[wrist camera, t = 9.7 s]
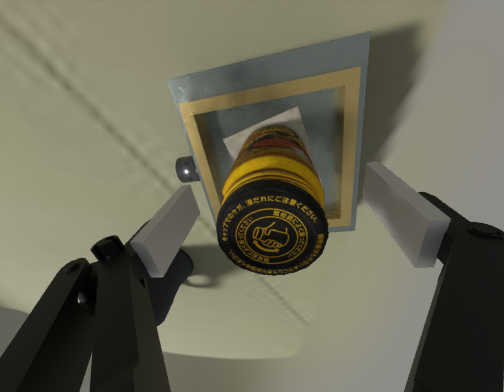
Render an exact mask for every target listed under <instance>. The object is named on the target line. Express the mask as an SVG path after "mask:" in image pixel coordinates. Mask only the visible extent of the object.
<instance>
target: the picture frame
mask: <svg viewBox="0 0 504 392" xmlns="http://www.w3.org/2000/svg"><path fill="white" fill-rule="evenodd" d="M370 34H371V31H370V32H366V33H362V34H358V35H353V36H349V37H345V38H341V39H336V40H332V41H328V42H324V43H319V44H315V45H311V46H307V47H302V48H298V49H294V50H289V51H285V52H281V53H277V54H272V55H268V56H264V57H260V58H255V59H251V60H247V61H243V62H238V63H234V64H230V65H226V66H221V67H217V68H213V69H209V70H204V71H200V72H196V73H192V74H187V75H183V76H179V77H175V78H170V79H167V82H168V85H169V88H170V91H171V94H172V97H173V100H174V103H175V106H176V109H177V112H178V115H179V118H180V121H181V124H182V127H183V130H184V133H185V136H186V139H187V142H188V145H189V148H190V151H191V154H192V156H188V157H181V158H178V159H177V161H176V173H177V176H178V178H179V180H180V181H181V182H183V183H187V182H194V181H201V183H202V186H203V189H204V192H205V195H206V198H207V201H208V204H209V207H210V210H211V213H212V216H213V219H214V222H215V225H216V222H217V216H218V213H219V211H220V208H221V205H222V201H221V199H222V190H223V186H224V183H225V180H226V177H227V176H228V174H229V172H230V170H231V167H232V166H233V164H234V161H233V159H232V157H231V155H230V153H229V151H228V149H227V147H226V145H225V143H224V141H223V139H225V138H227V137H230V136H232V135H234V134H236V133H238V132H241V131H243V130H245V129H247V128H249V127H252V126H254V125H256V124H258V123H260V122H263V121H265V120H267V119H269V118H272V117H274V116H276V115H279V114H281V113H283V112H285V111H288V110H290V109H292V108H294V107H297V106H298V108H299V111H300V115H301V118H302V121H303V124H304V128H305V131H306V134H307V137H308V141H309V144H310V147H311V150H312V153H313V157H314V160H315V163H316V166H317V170H318V173H319V176H320V179H321V182H322V186H323V190H324V195H325V199H324V212H325V217H326V218H327V222H328V223H329V225H328V232H342V231H355V223H356V210H357V198H358V185H359V172H360V160H361V147H362V134H363V122H364V109H365V97H366V84H367V71H368V59H369V46H370Z"/></svg>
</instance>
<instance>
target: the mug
mask: <svg viewBox="0 0 504 392" xmlns="http://www.w3.org/2000/svg"><path fill="white" fill-rule="evenodd" d="M192 270H193V263H192V260H191V259H190V257H189V255H187V254H186V253H185V252H184V251H183V250H181V249H179V250H178V252H177V254H176V256H175V257H174V259H173V261H172V263H171V264H170V266H169V268H168V269H167V271H166V273H165V275H164V276H163V277H151V276H150V274H149V273H148V271H146V273H145V274H144V278H145V279H146V282H147V286H148V291H149V295H150V300H151V304H152V309H153V313H154V318H155V322H156V327H157V326H159V325H160V324H161V323H162V322H163V321H164V320H165V318H166V316H167V314H168V312H169V310H170V307H171V305H172V303H173V300H174V297H175V295H176V293H177V291H178V289H179V287H180V285H181V284H182V283H183V282H184V281H185V280H186V279H187V278H188V276H189V275H190V274H191V272H192Z"/></svg>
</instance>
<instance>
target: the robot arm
mask: <svg viewBox="0 0 504 392" xmlns="http://www.w3.org/2000/svg"><path fill="white" fill-rule="evenodd" d="M363 198H364V200H365V201H366V202H367V204H368V205H369V207H370V208H371V209H372V211H373V212H374V213H375V214H376V216H377V217H378V219H379V220H380V221H381V223H382V224H383V225H384V227H385V228H386V229H387V231H388V232H389V233H390V235H391V236H392V237H393V239H394V240H395V242H396V243H397V244H398V246H399V247H400V248H401V250H402V251H403V252H404V254H405V255H406V256H407V258H408V259H409V261H410V262H411V263H412V264H413V266H414V267H415V268H426V267H434V265H435V262H436V259H437V258H438V259H439V260H440V261H441V262H442V263H443V264H444V266H443V268H442V271H441V273H440V276H439V278H438V283H437V287H436V290H435V293H434V296H433V300H432V303H431V306H430V310H429V313H428V316H427V319H426V322H425V325H424V329H423V332H422V335H421V338H420V342H419V345H418V348H417V351H416V354H415V358H414V361H413V364H412V367H411V371H410V374H409V377H408V380H407V383H406V387H405V390H404V392H503V380H504V232H503V231H501V230H500V229H498V228H496V227H494V226H491V225H488V224H484V223H478V222H470V221H468V220H467V219H465V218H464V217H463V216H461V215H460V214H459V213H457V212H456V211H455V210H453V209H452V208H450V207H449V206H448V205H446V204H445V203H442V201H441V200H439V199H438V198H437V197H435V196H433V195H430V194H428V193H426V192H416V191H415V190H414V189H413V188H411V187H410V186H409V185H407V184H406V183H405V182H404V181H402V180H401V179H400V178H399V177H397V176H396V175H395V174H393V173H392V172H391V171H390V170H388V169H387V168H386V167H385V166H383V165H382V164H381V163H380V162H378V161H374V162H367V163H366V164H365V175H364V186H363ZM199 214H200V211H199V208H198V205H197V202H196V200H195V197H194V194H193V192H192V189H191V186H190V185H184V186H181V187H180V188H179V189H178V190H177V191H176V192H175V193H174V194H173V196H172V197H171V198H170V199H169V200H168V201H167V202H166V203H165V204H164V205H163V206H162V208H161V209H160V210H159V211H158V212H157V213H156V214H155V215H154V216H153V217H152V219H150V220H149V221H147V222H146V223H145V224H144V225H143V226H142V227H141V228H140V230H138V231H137V232H136V234H134V235H133V236H132V238H131V239H130V240H129V241H128V242H127V243H126V244H125V245H123V244H122V242H121V241H120V239H119V237H118V236H115V235H113V236H109V237H106V238H104V239H102V240H100V241H98V242H97V243H96V244H94V245H93V246H92V248H91V252H92V253H93V254H94V255H95V257H96V258H97V259H98V261H97V262H94V263H91V264H90V263H89V262H88V261H87V260H86V259H85V258H79V259H76V260H74V261H71V262H69V263H67V264H66V265H65V266H64V267H63V268H61V269H60V270H59V272H58V273H57V274H56V276H55V277H54V279H53V280H52V282H51V283H50V285H49V286H48V288H47V289H46V291H45V292H44V294H43V295H42V297H41V298H40V300H39V301H38V303H37V304H36V306H35V307H34V309H33V310H32V312H31V313H30V314H29V316H28V318H27V319H26V321H25V322H24V323H23V325H22V327H21V328H20V329H19V331H18V332H17V334H16V335H15V337H14V338H13V340H12V341H11V343H10V344H9V346H8V347H7V349H6V350H5V352H4V353H3V355H2V356H1V358H0V392H79V391H80V388H81V385H82V382H83V379H84V375H85V372H86V369H87V366H88V363H89V360H90V357H91V353H92V365H91V381H90V392H171V390H170V386H169V381H168V376H167V372H166V367H165V363H164V358H163V354H162V349H161V345H160V340H159V336H158V331H157V327H156V322H155V318H154V313H153V309H152V304H151V300H150V295H149V291H148V286H147V282H146V279H145V278H144V274H145V273H146V271H148V273H149V274H150V276H151V277H163V276H164V275H165V273H166V271H167V269H168V268H169V266H170V264H171V263H172V261H173V259H174V257H175V256H176V254H177V252H178V250H179V249H180V247H181V245H182V244H183V242H184V240H185V238H186V237H187V235H188V233H189V232H190V230H191V228H192V226H193V225H194V223H195V221H196V219H197V218H198V216H199ZM78 299H79V300H80V302H79V303H78ZM92 350H93V352H92Z"/></svg>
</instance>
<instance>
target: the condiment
mask: <svg viewBox="0 0 504 392" xmlns="http://www.w3.org/2000/svg"><path fill="white" fill-rule="evenodd" d="M223 141H224V143H225V145H226V147H227V149H228V151H229V153H230V155H231V157H232V159H233V161H234V164H233V166H232V167H231V170H230V172H229V174H228V176H227V177H226V180H225V183H224V186H223V190H222V199H221V201H222V205H221V208H220V211H219V213H218V216H217V222H216V230H217V237H218V243H219V246H220V247H221V249H222V250H223V252H224V253H225V255H226V256H227V257H228V259H230V260H231V261H232V262H233V263H234V264H235V265H237V266H239V267H241V268H242V269H246V270H248V271H251V272H255V273H258V274H262V275H273V276H275V275H286V274H289V273H294V272H297V271H299V270H302V269H305V268H307V267H308V266H310V265H311V264H312V263H313V262H314V261H315V260H317V259H318V258H319V257H320V255H321V254H322V253H323V250H324V247H325V245H326V242H327V239H328V234H329V232H328V225H329V223H328V222H327V218H326V217H325V212H324V199H325V195H324V190H323V186H322V182H321V179H320V176H319V173H318V170H317V166H316V163H315V160H314V157H313V153H312V150H311V147H310V144H309V141H308V137H307V134H306V131H305V128H304V124H303V121H302V118H301V115H300V111H299V108H298V106H297V107H294V108H292V109H290V110H288V111H285V112H283V113H281V114H279V115H276V116H274V117H272V118H269V119H267V120H265V121H263V122H260V123H258V124H256V125H254V126H252V127H249V128H247V129H245V130H243V131H241V132H238V133H236V134H234V135H232V136H230V137H227V138H225V139H223Z"/></svg>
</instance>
